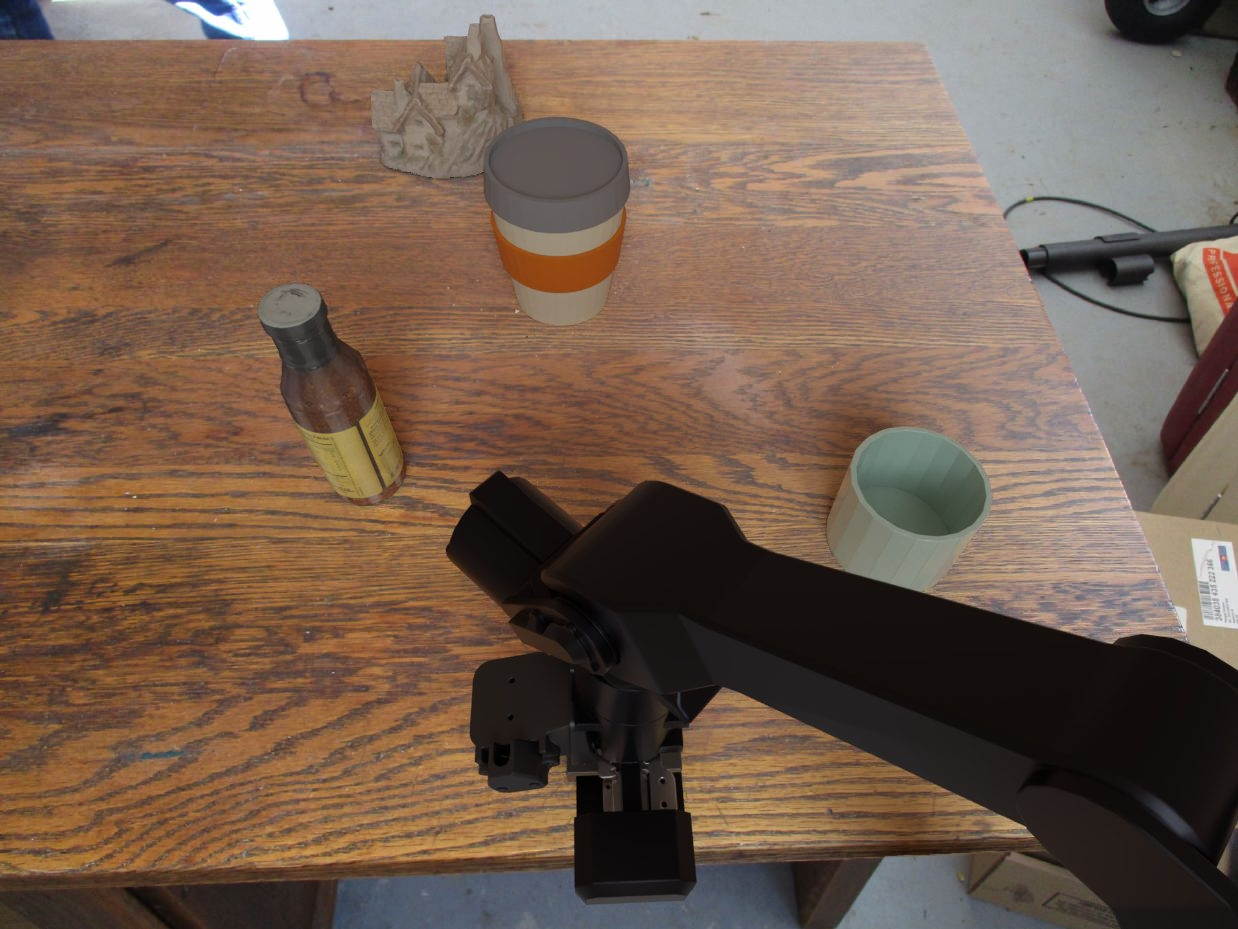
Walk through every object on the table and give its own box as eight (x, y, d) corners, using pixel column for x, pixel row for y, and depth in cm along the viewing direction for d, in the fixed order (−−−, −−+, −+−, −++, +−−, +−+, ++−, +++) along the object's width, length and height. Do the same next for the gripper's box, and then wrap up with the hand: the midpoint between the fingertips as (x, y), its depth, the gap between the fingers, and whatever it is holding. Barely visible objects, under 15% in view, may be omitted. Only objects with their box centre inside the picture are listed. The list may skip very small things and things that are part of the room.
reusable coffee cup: (473, 314, 79) (450, 178, 67) (536, 236, 86) (525, 100, 74) (592, 356, 76) (590, 222, 64) (647, 273, 83) (655, 137, 71)
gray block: (677, 747, 56) (679, 738, 54) (680, 778, 55) (682, 769, 53) (567, 751, 56) (566, 742, 54) (567, 782, 54) (566, 773, 53)
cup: (979, 559, 65) (1022, 504, 58) (880, 616, 62) (914, 564, 55) (896, 468, 70) (926, 408, 63) (801, 516, 67) (822, 458, 60)
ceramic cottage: (536, 102, 100) (517, -29, 87) (506, 190, 91) (480, 58, 78) (412, 97, 102) (376, -32, 89) (371, 183, 93) (324, 53, 80)
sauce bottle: (383, 435, 71) (319, 250, 54) (422, 482, 68) (367, 303, 52) (313, 475, 68) (224, 294, 52) (351, 526, 65) (269, 351, 49)
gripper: (480, 514, 47) (505, 631, 59) (455, 881, 36) (493, 928, 49) (677, 510, 47) (660, 626, 60) (712, 871, 36) (683, 919, 49)
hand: (623, 760), depth 54 cm, fingers open, 4 cm apart
